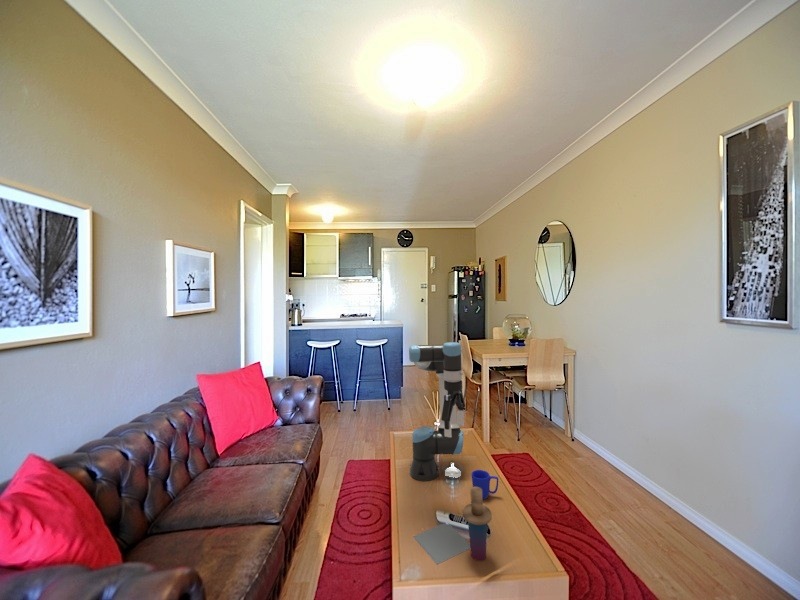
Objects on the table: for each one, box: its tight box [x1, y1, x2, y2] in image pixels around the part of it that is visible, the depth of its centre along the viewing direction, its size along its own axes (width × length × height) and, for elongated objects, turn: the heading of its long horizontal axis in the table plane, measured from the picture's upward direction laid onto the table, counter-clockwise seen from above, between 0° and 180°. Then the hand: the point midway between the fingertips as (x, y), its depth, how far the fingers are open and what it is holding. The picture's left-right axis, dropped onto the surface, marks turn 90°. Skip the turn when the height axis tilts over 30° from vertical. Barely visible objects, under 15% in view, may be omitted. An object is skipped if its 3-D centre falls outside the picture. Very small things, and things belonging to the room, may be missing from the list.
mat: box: [412, 523, 471, 565], centre depth 128 cm, size 16×16×1 cm
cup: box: [467, 521, 488, 562], centre depth 120 cm, size 7×7×15 cm
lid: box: [462, 486, 493, 525], centre depth 120 cm, size 10×10×9 cm
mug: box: [471, 469, 499, 500], centre depth 157 cm, size 8×12×10 cm
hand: (454, 430), depth 142 cm, fingers open, 13 cm apart
